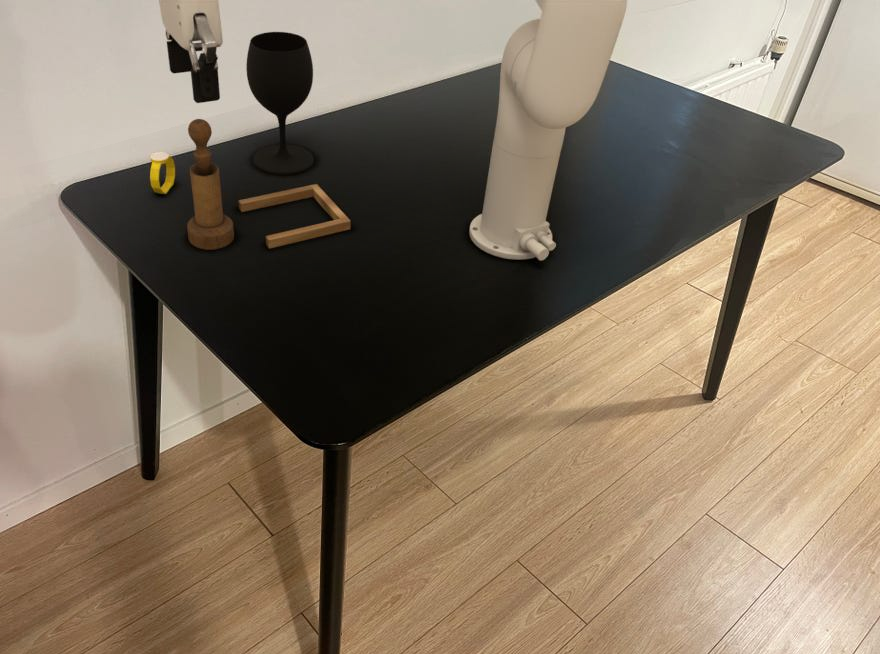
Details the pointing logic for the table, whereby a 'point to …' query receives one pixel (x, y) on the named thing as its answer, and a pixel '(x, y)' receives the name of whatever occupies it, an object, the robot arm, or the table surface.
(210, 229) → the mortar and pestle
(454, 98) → the table surface
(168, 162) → the watch
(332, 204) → the frame
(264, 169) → the wine glass
